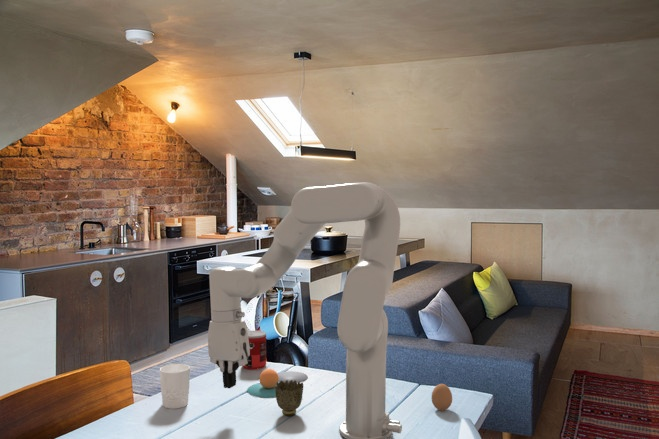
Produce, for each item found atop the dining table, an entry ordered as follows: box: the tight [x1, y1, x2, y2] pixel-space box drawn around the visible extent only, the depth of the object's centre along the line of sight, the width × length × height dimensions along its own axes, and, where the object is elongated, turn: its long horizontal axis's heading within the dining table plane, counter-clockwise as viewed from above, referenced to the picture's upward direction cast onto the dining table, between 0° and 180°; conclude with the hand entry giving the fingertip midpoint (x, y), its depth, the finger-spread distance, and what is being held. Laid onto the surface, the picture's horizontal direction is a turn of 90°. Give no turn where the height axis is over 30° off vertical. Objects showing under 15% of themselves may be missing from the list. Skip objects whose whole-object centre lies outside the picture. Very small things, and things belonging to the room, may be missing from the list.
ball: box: [258, 368, 279, 389], centre depth 177 cm, size 6×6×6 cm
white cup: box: [159, 363, 191, 410], centre depth 164 cm, size 8×8×10 cm
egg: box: [431, 383, 453, 412], centre depth 161 cm, size 5×5×7 cm
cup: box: [275, 380, 305, 417], centre depth 157 cm, size 8×7×8 cm
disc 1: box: [247, 382, 279, 399], centre depth 176 cm, size 13×13×1 cm
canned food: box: [241, 330, 267, 371], centre depth 198 cm, size 8×8×11 cm
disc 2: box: [277, 370, 308, 384], centre depth 187 cm, size 11×11×1 cm
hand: (229, 386), depth 155 cm, fingers closed
